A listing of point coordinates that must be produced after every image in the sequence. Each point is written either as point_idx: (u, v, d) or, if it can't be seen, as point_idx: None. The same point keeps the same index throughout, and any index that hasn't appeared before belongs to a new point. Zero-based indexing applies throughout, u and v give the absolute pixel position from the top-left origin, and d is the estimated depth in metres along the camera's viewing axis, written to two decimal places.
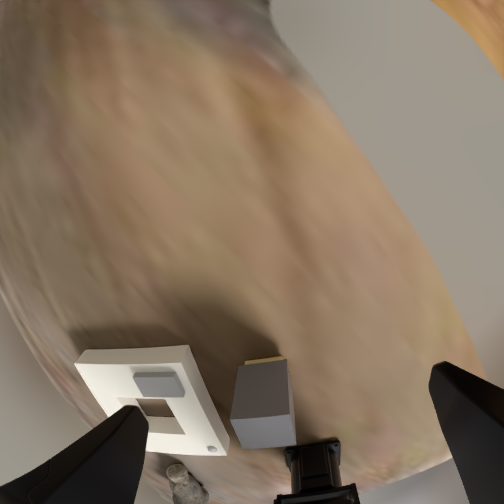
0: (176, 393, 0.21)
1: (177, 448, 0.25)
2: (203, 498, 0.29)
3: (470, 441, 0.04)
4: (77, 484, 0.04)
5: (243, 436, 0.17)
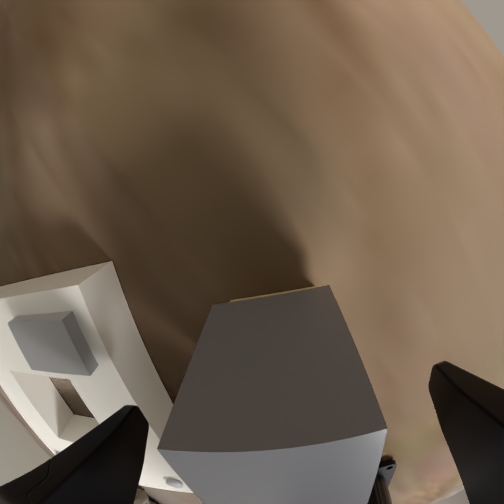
0: (75, 364, 0.09)
1: None
2: None
3: (470, 441, 0.04)
4: (77, 484, 0.04)
5: (213, 496, 0.05)
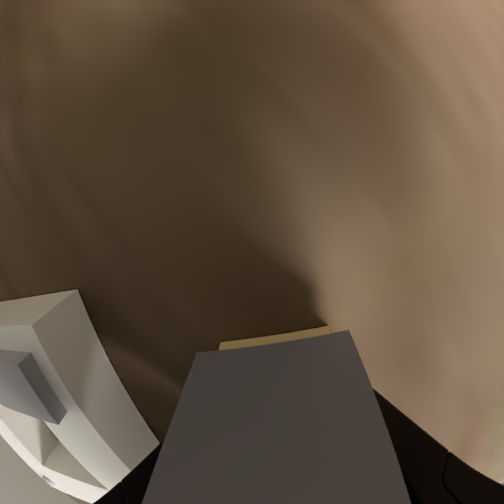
0: (41, 411, 0.06)
1: None
2: None
3: None
4: None
5: None
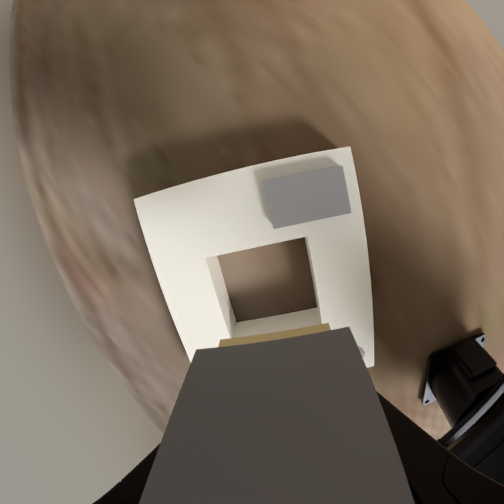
0: (340, 205, 0.14)
1: None
2: None
3: None
4: None
5: None
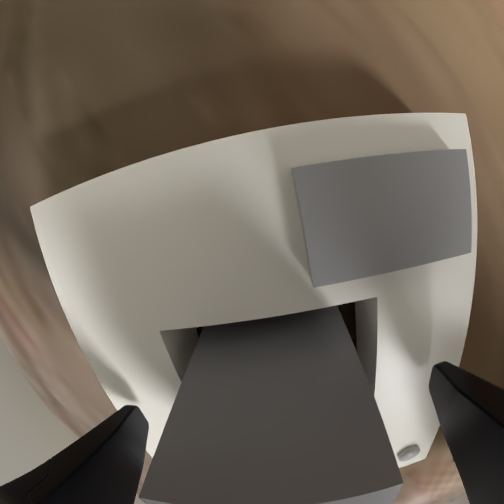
0: (457, 235, 0.05)
1: None
2: None
3: (470, 441, 0.04)
4: (77, 484, 0.04)
5: None
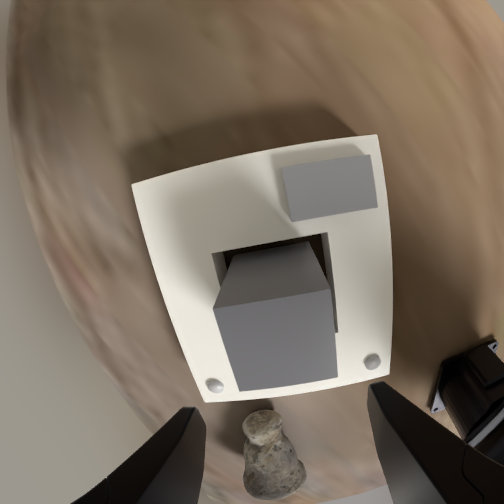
0: (366, 198, 0.12)
1: None
2: (301, 472, 0.19)
3: (397, 471, 0.04)
4: None
5: (239, 356, 0.10)
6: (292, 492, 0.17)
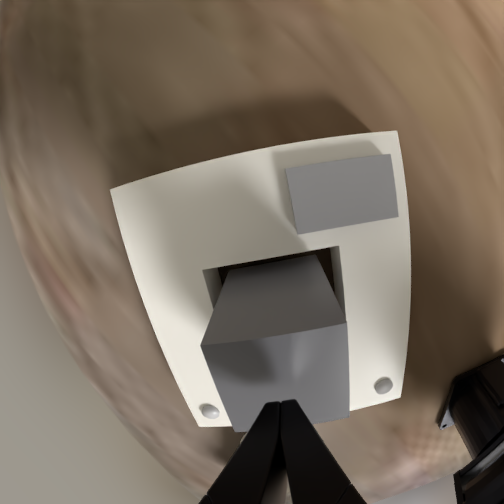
0: (386, 206, 0.10)
1: None
2: None
3: None
4: None
5: (234, 397, 0.08)
6: None
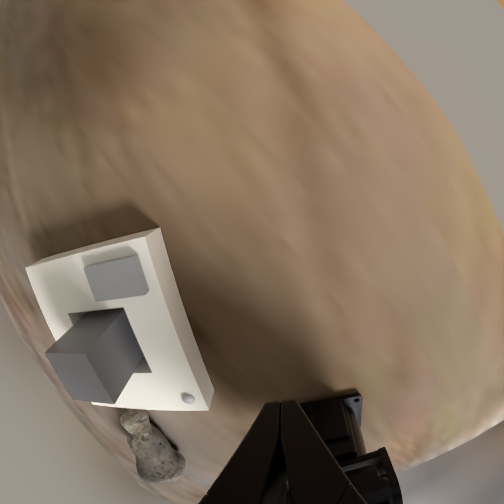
0: (135, 288, 0.16)
1: (143, 398, 0.20)
2: (175, 464, 0.22)
3: None
4: None
5: (63, 379, 0.14)
6: (167, 479, 0.21)
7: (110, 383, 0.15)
